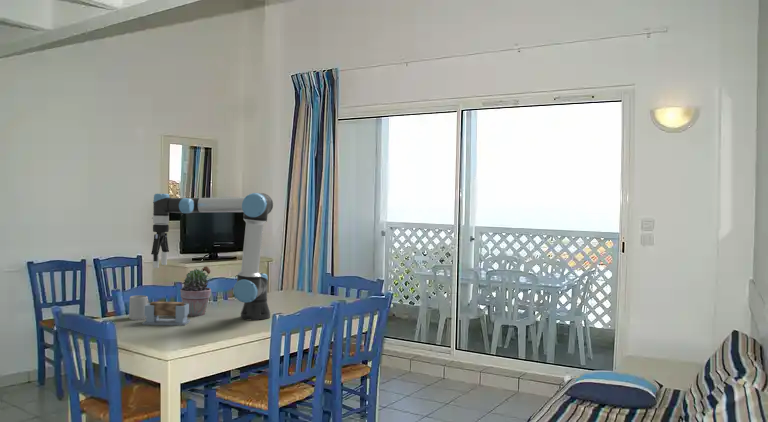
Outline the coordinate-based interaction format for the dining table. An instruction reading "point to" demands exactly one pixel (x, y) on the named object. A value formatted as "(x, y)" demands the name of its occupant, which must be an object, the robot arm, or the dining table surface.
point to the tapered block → (165, 308)
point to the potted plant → (196, 291)
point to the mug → (137, 307)
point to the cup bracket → (180, 319)
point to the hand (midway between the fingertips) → (160, 266)
